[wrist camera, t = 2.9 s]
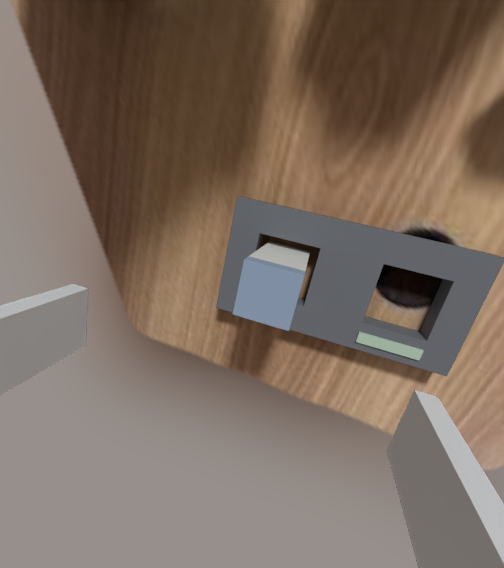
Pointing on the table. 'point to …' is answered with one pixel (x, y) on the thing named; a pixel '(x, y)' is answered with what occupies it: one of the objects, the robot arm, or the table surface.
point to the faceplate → (366, 282)
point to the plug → (271, 284)
